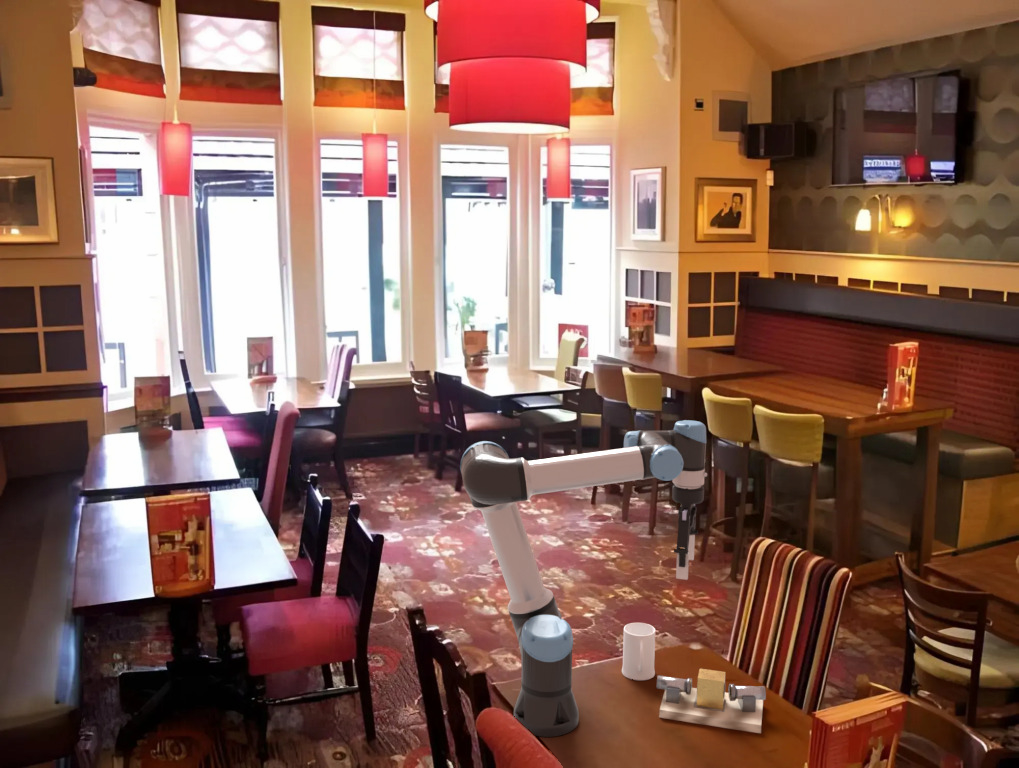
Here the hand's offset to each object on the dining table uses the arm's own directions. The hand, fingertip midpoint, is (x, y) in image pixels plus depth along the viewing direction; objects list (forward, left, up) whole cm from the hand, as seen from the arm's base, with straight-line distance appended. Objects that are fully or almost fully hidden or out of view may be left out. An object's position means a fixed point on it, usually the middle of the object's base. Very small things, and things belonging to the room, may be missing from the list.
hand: (685, 568), depth 226 cm
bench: (+8, -11, -31) cm, 34 cm away
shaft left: (-1, -11, -29) cm, 31 cm away
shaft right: (+16, -9, -29) cm, 34 cm away
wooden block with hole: (+8, -10, -28) cm, 31 cm away
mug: (-11, +2, -31) cm, 33 cm away
